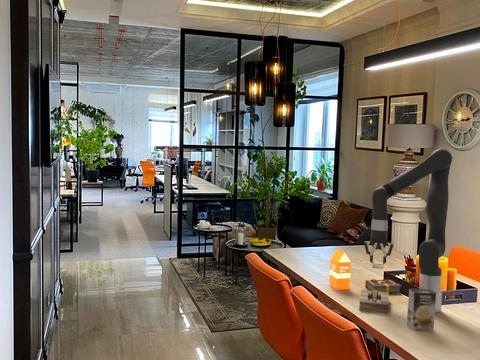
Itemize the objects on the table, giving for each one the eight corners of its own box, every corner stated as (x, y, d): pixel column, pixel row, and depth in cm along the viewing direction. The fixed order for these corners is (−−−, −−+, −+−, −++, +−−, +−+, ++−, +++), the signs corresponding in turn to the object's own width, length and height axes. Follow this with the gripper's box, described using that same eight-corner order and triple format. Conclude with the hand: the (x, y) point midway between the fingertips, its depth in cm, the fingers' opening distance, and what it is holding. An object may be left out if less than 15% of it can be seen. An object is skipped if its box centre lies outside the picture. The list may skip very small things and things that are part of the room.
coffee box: (412, 331, 195) (414, 293, 194) (406, 325, 202) (408, 288, 201) (434, 331, 196) (436, 293, 194) (427, 325, 202) (429, 288, 201)
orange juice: (336, 289, 250) (338, 252, 248) (329, 284, 258) (330, 248, 257) (349, 289, 252) (351, 251, 250) (342, 284, 260) (343, 248, 259)
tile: (372, 266, 232) (372, 262, 232) (382, 267, 231) (383, 262, 231) (372, 268, 223) (372, 263, 223) (383, 268, 221) (383, 264, 221)
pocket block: (360, 297, 238) (361, 289, 238) (388, 300, 234) (388, 292, 234) (359, 310, 219) (359, 301, 219) (388, 313, 216) (389, 304, 215)
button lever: (372, 299, 233) (372, 290, 234) (376, 299, 233) (376, 290, 233) (372, 302, 224) (372, 292, 225) (376, 302, 224) (376, 293, 224)
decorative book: (364, 288, 255) (365, 278, 255) (393, 287, 258) (393, 278, 257) (373, 294, 244) (374, 285, 244) (403, 294, 246) (403, 284, 246)
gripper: (394, 228, 230) (393, 262, 231) (364, 226, 234) (362, 260, 235) (395, 230, 223) (393, 266, 224) (363, 228, 227) (362, 263, 228)
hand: (377, 263), depth 230 cm, fingers closed on tile, 5 cm apart
